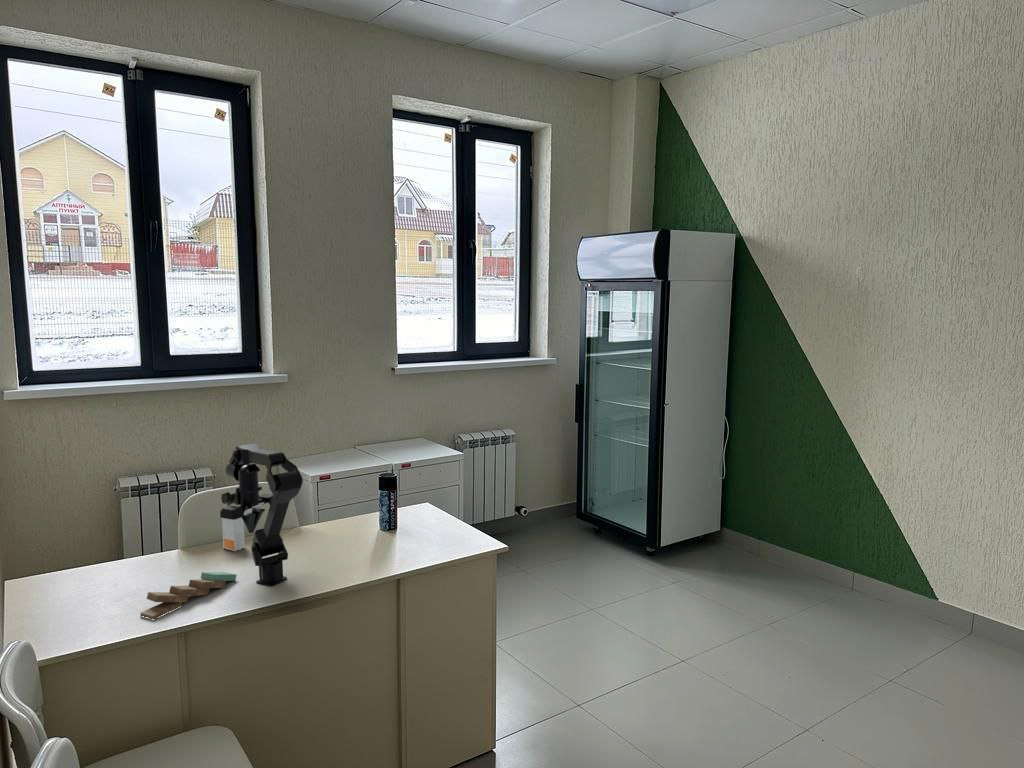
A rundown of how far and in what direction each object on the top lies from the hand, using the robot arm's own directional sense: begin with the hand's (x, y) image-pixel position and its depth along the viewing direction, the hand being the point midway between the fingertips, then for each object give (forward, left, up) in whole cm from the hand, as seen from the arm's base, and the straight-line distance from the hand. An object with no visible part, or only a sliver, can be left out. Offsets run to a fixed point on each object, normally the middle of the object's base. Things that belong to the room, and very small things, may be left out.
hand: (251, 532), depth 220 cm
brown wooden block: (0, +29, -12) cm, 31 cm away
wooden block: (0, +14, -11) cm, 18 cm away
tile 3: (0, +19, -11) cm, 22 cm away
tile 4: (0, +26, -11) cm, 28 cm away
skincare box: (+20, -11, -12) cm, 26 cm away
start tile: (+1, +9, -11) cm, 14 cm away
